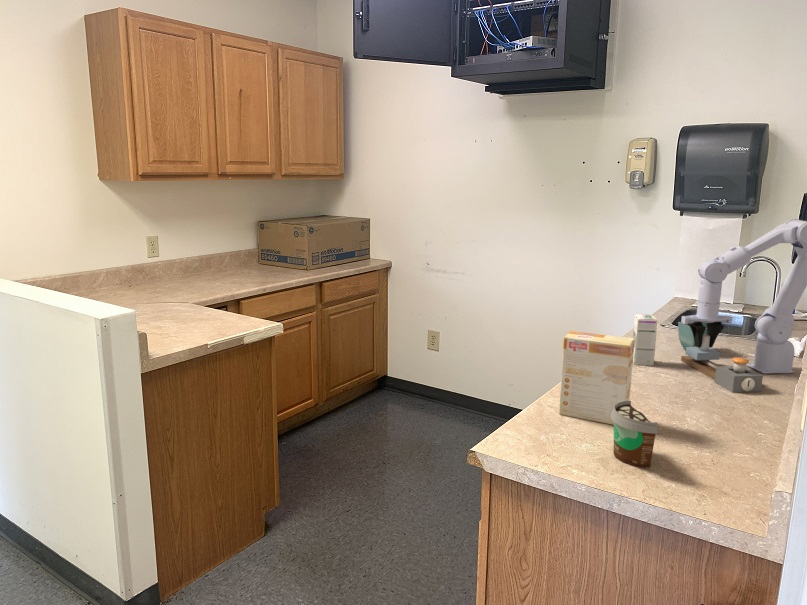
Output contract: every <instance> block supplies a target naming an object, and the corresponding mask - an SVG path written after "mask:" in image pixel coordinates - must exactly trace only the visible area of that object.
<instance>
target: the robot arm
mask: <svg viewBox="0 0 807 605" xmlns="http://www.w3.org/2000/svg"><path fill="white" fill-rule="evenodd" d="M779 244H791V245H792V247H793V249H794V251H795V253H796V254H797V257H796V259H794V260H795V261H794V263H793V264H792V266H791V268H790V270H789V272H788V274H787V275H786V278H785V280H784V282H783V284H782V286H781V288H780V290H779V292H778V294H777V296H776V297H775V300H774V301H773V303H772V305H770V306H769V307H767V308H766V309H765V310H764V311H763V313H762V315H761V316H759V317H758V318H757V319H756V320H755V323H754V328H755V331H756V332H757V336H756V337H757V338H756V344H755V351H754V358H753V362H752V363H748V364H747V365H746V367H748V368H749V367H750V369H752V370H755V371H756V372H758V373H760V374H767V375H768V374H794V373H795V372H794V370H793V363H794V357H795V346H794V343H792V341H790V340H789V339H790V338H791V336H792V334H793V325H794V323H795V319H794V314H793V313H794V311H795V309H796V307H797V306H798V304H799V302H800V300H801V297H802V296H803V294H804V292H805V290H806V288H807V220H801V219H799V218H798V219H797V218H792V219H789V220H787V221H786V222H783V223H781V224H779V225H778V226H776V227H775V228H773V229H772V230H770V231H769V232H767V233H766V234H764V235H762V236H760V237H759V238H757V239H756V240H754V241H752V242H750V243H749V244H747V245H746V246H741V245H738V246H734V245H733V246H730V247H729V248H728V251H726V252H724V253H722V254H720V255H716V256H713V260H706V261H704V262H702V263H701V265H700V267H699V268H698V269H697V273H698V275H699V277H700V281H699V282H700V283H699V290H698V297H697V298H698V300H697V308H696V314H691V315H682V316H681V321H680V322H681V323H684V324H688V323H689V326H690V328H691V330H692V333H693V337H694V342H695V346H696V347H698V348H701V345H702V338H703V334H704V331H705V329H706V327H705V326H703V324H702V323H706V324H707V335H710V343H709V347H711V348H713V347H714V345H713V344H715V343H714V342H716V340H717V338H718V336H719V335H720V333H721V331H723V329H724V327H725V324H726V323H727V324H733V316H731V315H729V314H728V315H726V314H725V315H723V314H719V312H720V306H721V298H722V297H721V296H722V288H723V287H722V286H723V281H725V280H726V279H727V276H728V275H729V274H732V273H733V272H735V271H737V270H739V269H741V268H743V267H744V266H746V265H748V264H750V263H751V260H752V257H754V256H756V255H758V254H760V253H762V252H764V251H766V250H769V249H770V248H772V247H773V248H774V246H777V245H779ZM724 323H725V324H724Z"/></svg>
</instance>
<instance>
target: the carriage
mask: <svg viewBox="0 0 807 605" xmlns="http://www.w3.org/2000/svg"><path fill="white" fill-rule="evenodd" d="M709 343H710V335H706V334H703V338H702V345H701V348H698V347H686V350H685V356H690V357H692V358H694V359H695V360H709V361H716V360H717V361H718V360H720V358H721V352H720V351H718V350H716V349H714V348H713V347H711V348H710V347H709Z"/></svg>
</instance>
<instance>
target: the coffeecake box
mask: <svg viewBox="0 0 807 605" xmlns="http://www.w3.org/2000/svg"><path fill="white" fill-rule="evenodd" d="M634 343H635V339H634V338H633V337H624V336H615V335H610V334H609V335H608V334H601V333H594V332H593V333H592V332H585V331H576V330H570V331H569V332H568V333H567V334H565V336H563V342H562V344H563V346H562V347H563V348H562V361H561V378H560V389H559V390H560V392H559V409H558V414H559V415H561V416H567V417H573V418H577V419H583V420H588V421H593V422H599V423H603V424H608V425H613V426H614V422H613V421H612V419H611V413H612V410H613V408H614V406H615V405H616V404H617V403H619V402H622V401H631V400H630V398H631V388H632V387H631V386H632V378H633V367H634V366H633V364H634V363H633V355H634Z"/></svg>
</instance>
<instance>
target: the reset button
mask: <svg viewBox="0 0 807 605" xmlns="http://www.w3.org/2000/svg"><path fill="white" fill-rule="evenodd" d="M732 362H733V364H732V366H733V372H735V373H737V374H739V373H745V372H746V367H747V364H750V363H749V362H750V361H749V359H747V358H744V357H733V358H732Z"/></svg>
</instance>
